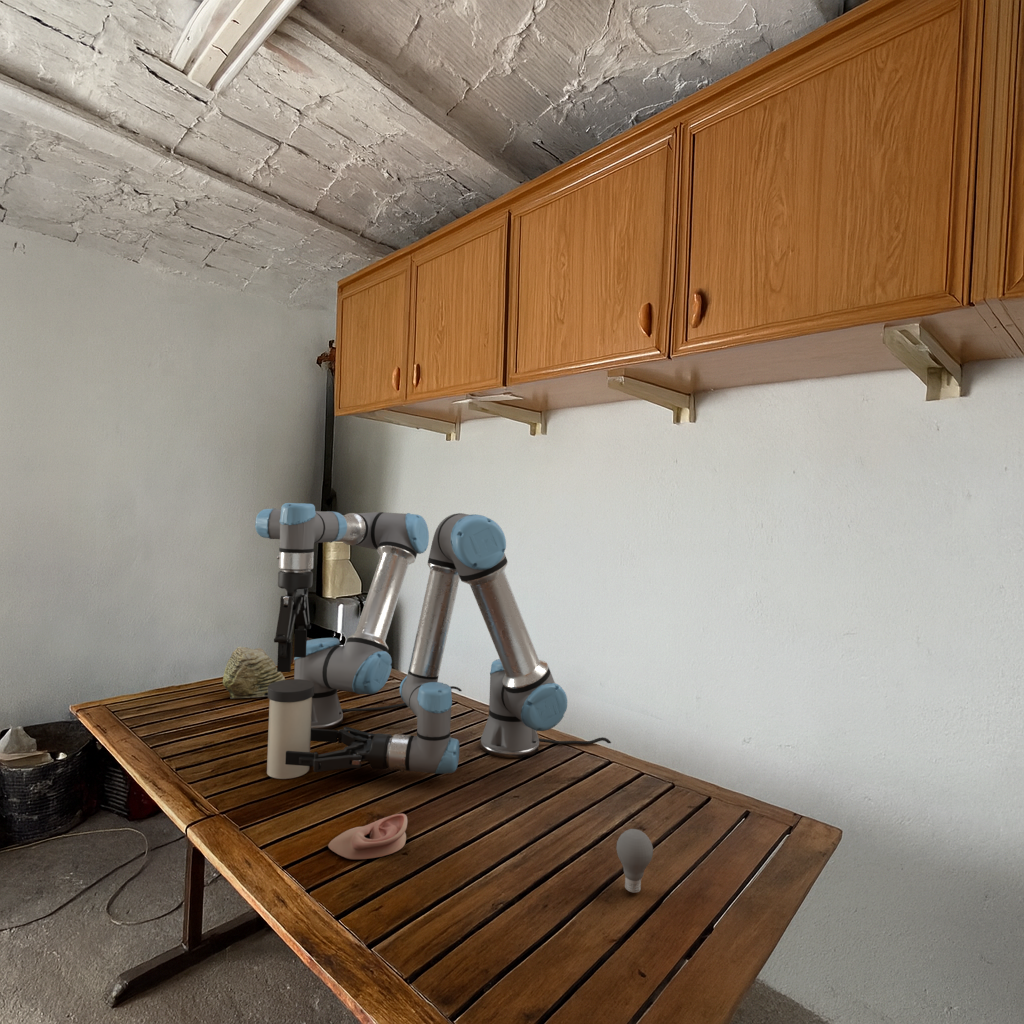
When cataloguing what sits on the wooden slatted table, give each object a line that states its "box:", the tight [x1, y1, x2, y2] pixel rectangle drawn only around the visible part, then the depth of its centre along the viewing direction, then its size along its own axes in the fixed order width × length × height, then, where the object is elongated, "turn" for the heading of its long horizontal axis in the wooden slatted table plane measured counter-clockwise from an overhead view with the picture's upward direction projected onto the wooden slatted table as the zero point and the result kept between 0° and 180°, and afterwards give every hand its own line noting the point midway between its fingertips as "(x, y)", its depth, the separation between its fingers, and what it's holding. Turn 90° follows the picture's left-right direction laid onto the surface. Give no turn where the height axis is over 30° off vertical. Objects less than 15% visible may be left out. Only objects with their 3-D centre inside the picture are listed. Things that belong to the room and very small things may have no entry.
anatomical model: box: [327, 813, 408, 861], centre depth 116 cm, size 13×4×12 cm
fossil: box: [222, 646, 286, 699], centre depth 198 cm, size 9×18×15 cm, turn 132°
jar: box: [266, 697, 312, 780], centre depth 146 cm, size 9×9×19 cm
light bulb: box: [615, 828, 654, 894], centre depth 106 cm, size 6×6×10 cm
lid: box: [267, 678, 314, 702], centre depth 146 cm, size 10×10×2 cm
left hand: (292, 664), depth 145 cm, fingers open, 12 cm apart
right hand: (298, 745), depth 144 cm, fingers open, 13 cm apart
